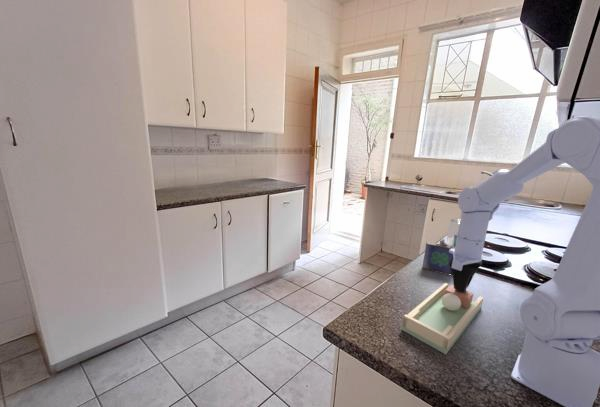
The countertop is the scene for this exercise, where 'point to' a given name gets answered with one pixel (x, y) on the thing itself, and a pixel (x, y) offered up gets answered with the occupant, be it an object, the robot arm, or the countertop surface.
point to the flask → (438, 257)
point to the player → (461, 295)
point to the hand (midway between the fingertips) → (460, 287)
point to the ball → (451, 302)
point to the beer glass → (453, 232)
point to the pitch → (439, 321)
